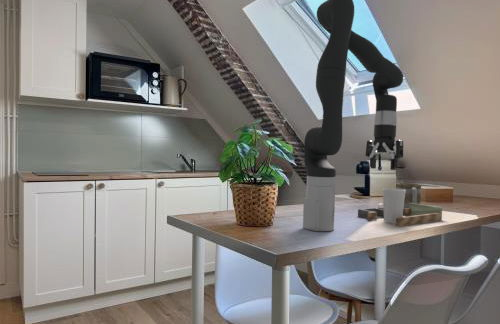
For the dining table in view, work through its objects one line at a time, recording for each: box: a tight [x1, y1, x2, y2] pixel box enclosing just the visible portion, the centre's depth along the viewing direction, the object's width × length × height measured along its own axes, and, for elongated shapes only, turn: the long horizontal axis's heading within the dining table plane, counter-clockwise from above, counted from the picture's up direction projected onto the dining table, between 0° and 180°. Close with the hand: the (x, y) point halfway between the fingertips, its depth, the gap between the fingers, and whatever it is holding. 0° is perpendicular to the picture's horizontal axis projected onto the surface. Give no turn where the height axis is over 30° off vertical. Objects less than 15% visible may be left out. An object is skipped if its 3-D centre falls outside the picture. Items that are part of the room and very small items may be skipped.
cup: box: [382, 187, 406, 224], centre depth 134 cm, size 8×8×12 cm
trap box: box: [357, 203, 443, 227], centre depth 141 cm, size 27×20×5 cm
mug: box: [395, 182, 422, 208], centre depth 160 cm, size 16×11×12 cm
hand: (382, 169), depth 132 cm, fingers open, 8 cm apart
